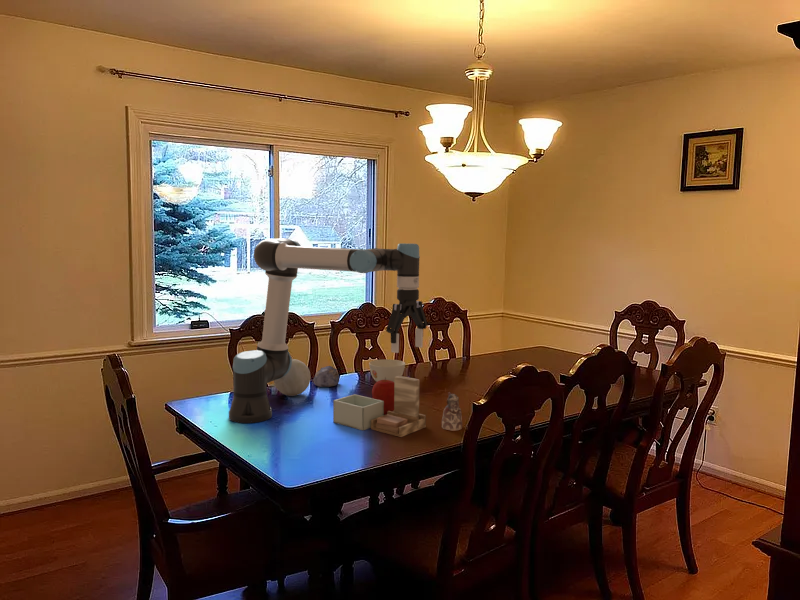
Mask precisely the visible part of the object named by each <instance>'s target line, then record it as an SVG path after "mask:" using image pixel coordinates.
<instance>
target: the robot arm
mask: <svg viewBox="0 0 800 600" xmlns="http://www.w3.org/2000/svg"><path fill="white" fill-rule="evenodd" d="M301 245H302V244H301V243H299V242H298V241H297V240H295V239H292V238H285V237H284V238H266V239H263V240H261V241H260V242H259V243H258V244H256V246H255V248H254V250H253V251H254V252H253V259H254V262H255V264H256V265H257V266H258V267H259V269H261V270H264V271H265V275H266V276H267V278H268V285H267V291H266V292H267V293H266V301H265V309H264V310H265V311H264V319H263V328H262V336H261V339H262V340H260V341H259V342H258V343H257V347H256V350H255V349H253V350H252V349H251V350H247V351H242V352H239V353H237V354H236V355H235V356H234V357H233V361H232V362H233V363H232V373H233V374H232V376H233V377H232V379H233V380H232V383H233V397H232V401H231V403H230V404H231V405H230V409H229V411H228V419H229V420H230V421H231V422H235V423H239V424H240V423H241V424H252V423H253V424H255V423H260V422H265V421H267V420H269V419H271V418H272V416H273V410H272V407H271V403H270V401H269V398H268V395H267V393H268V392H267V391H268V390H267V389H268V388H267V386H268V385H267V384H268V383H269V384H270V383H271V382H274V380H278V379H280V378H282V377H283V376H285V375H286V374H287V373H288V372H289V370H290V369H291V366H292V359H293V358H292V356H291V353H290V351H289V346H288V344H287V343H286V338H287V328H288V319H289V311H290V310H289V309H290V303H291V293H292V287H293V286H292V284H293V281H294V280H295V279H296V278H297V276H298V272H299V271H298V270H299V269H303V270H304V269H307V270H319V271H320V270H324V271H326V270H327V271H339V272H355V273H358V274H368V273H371V272H379V271H380V272H381V271H384V272H385V271H388V272H389V271H392V272H397V273H396V287H397V289H396V300H398V303H392V309H391V313H390V315H389V316H390V317H389V321H388V323H387V326H386V330H385V331H386V332H387V333H388V334H390V352H391V353H395V354H398V353H400V333H398V332H399V330H400V328H401V327H402V324H403V323H404V320H405V319H406V318H407V317H411V319H412V321H413V322H414V325H415V327H417V328H415V331H414V333H415V335H414V336H415V337H414V339H415V340H414V341H415V343H414V345H415V346H414V347H415V348H421V349H422V348H423V347H424V345H423V343H424V342H423V341H424V330H426V329H427V326H428V321H427V318H426V314H425V311H424V307H423V301H421V300H419V298H420V290H419V289H418V288H419V287H420V257H421V255H420V246H419V244H417V243H398V244H397V247H396V248H376V247H375V248H365V249H364V248H361V249H359V248H342V247H321V246H319V247H318V246H301Z"/></svg>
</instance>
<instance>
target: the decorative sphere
mask: <svg viewBox="0 0 800 600" xmlns="http://www.w3.org/2000/svg"><path fill="white" fill-rule="evenodd" d="M310 382H311V372H310V368H309V367H308V366H307V365H306V363H305V362H303V361H302V360H299V359H295V358H292V366H291V369H290V370H289V372H288V373H287V374H286V375H285V376H283V377H282V378H280V379H278V380H274V381H273V384H274V386H275V388H276V389H277V391H279V393H281V394H282V395H285V396H287V397H295V396H298V395H301V394H302V393H304V392H305V391H306V390H307V389H308V387H309V386H310Z"/></svg>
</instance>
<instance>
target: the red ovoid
mask: <svg viewBox="0 0 800 600" xmlns="http://www.w3.org/2000/svg"><path fill="white" fill-rule="evenodd" d="M394 386H395V383H394V382H393V381H390V380H386V377H385V380H380V381H377V382H376V381H375V383H374V384H373V386H372V390H371V398H373V399H377V400H381V401H384V415H387V411H392V412H394Z"/></svg>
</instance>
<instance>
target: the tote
mask: <svg viewBox="0 0 800 600" xmlns="http://www.w3.org/2000/svg"><path fill="white" fill-rule="evenodd" d="M332 403H333V404H332V405H333V410H332V411H333V412H332V413H333V414H332V415H333V418H332V421H333V422H332V423H334V424H338V425H341V426H344V427H347V428H348V427H349V428H352V429H356V430H358V431H359V430H360V431H366V430H369V429H371V420H373V419H375V418H378V417H381V416H384V401H381V400H377V399H373V398H372V397H369V396H363V395H359V394H355V393H354V394H350V395H347V396H344V397H340V398H337V399H334V400H333V401H332Z"/></svg>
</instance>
